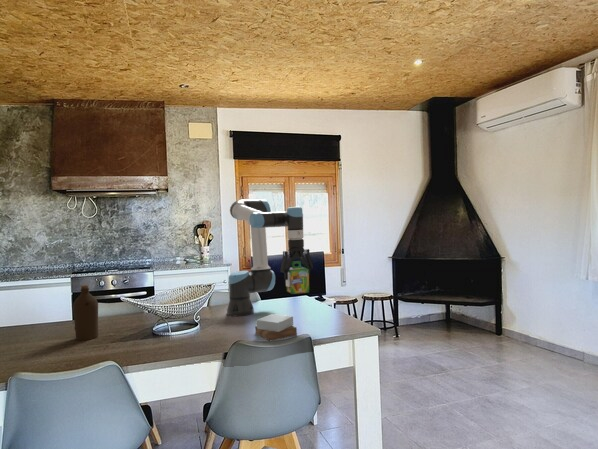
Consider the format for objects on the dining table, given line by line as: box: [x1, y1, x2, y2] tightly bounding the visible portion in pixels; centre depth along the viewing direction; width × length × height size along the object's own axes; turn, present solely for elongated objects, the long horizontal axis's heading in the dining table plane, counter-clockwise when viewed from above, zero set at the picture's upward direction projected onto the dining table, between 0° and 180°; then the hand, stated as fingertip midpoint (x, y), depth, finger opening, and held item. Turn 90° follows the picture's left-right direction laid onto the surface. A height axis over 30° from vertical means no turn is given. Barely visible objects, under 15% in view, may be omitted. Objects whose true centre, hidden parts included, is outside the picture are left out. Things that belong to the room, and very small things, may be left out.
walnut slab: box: [254, 325, 298, 342], centre depth 184 cm, size 14×14×4 cm
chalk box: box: [286, 260, 310, 295], centre depth 193 cm, size 9×9×15 cm
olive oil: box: [72, 284, 99, 342], centre depth 190 cm, size 11×11×25 cm
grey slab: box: [256, 313, 294, 332], centre depth 184 cm, size 12×12×4 cm
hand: (297, 285), depth 193 cm, fingers closed on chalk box, 10 cm apart
